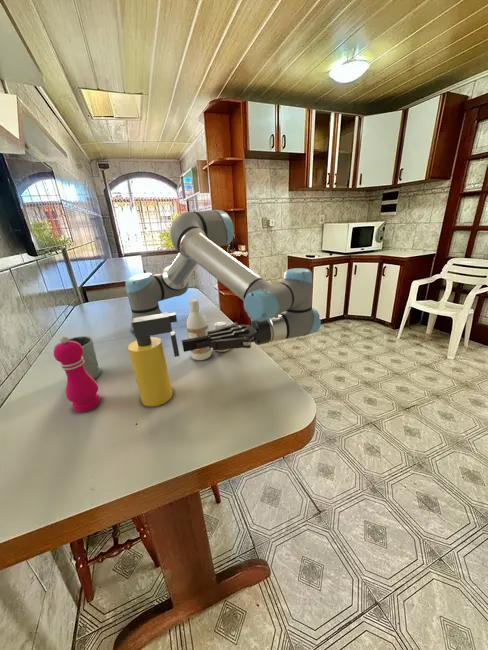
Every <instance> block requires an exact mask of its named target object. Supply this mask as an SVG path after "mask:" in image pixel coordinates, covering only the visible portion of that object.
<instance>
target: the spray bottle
mask: <svg viewBox="0 0 488 650" xmlns="http://www.w3.org/2000/svg"><path fill="white" fill-rule="evenodd" d="M131 320H132V319H131ZM177 322H178V318H177V314H176V312H171V313H169V312H168V311H167V312H162V313H161V314H155V315H148V316H142V317H136V318H133V320H132V326H133V330H134V332H133V333H134V334H133V335H134V337H135V339H136V340H134V341H132V342H130V343H129V344H128V345H127V350H128V354H129V355H128V356H129V358H130V362H131V366H132V369H133V373H134V376H135V381H136V384H137V388H138V392H139V397H140V400H141V403H142V404H143V406H146V407H158V406H161V405H164V404H165V403H167V402H168V401H169V400H171V398H172V397H173V389H172V384H171V380H170V379H171V378H170V375H169V370H168V365H167V360H166V355H165V351H164V346H163V342H162V339H161V338H160V337H156V335H162V334H167V333H168V334H170V332H172V331H173V328H172V323H177Z"/></svg>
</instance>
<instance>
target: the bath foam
mask: <svg viewBox="0 0 488 650" xmlns="http://www.w3.org/2000/svg"><path fill="white" fill-rule="evenodd" d="M188 303H189V310H190V311H189V314H188V316H187V317H186V318H187V319H186V330H187V331H186V332H187V339H191V338H196V337H202V336H206V335H207V334H208V331H210V330H209V329H210V327H209V322H208V320H207V317H206V316H205V314H204V313H203V312H202V311H201V310H200V302H199V299H197V298H193V299H190V300H188ZM212 354H213V352H212V348H209V347H206V348H201V349H196V350H191V351H190V355H191V358H192V359H193V360H195V361H204V360H208V359H209V358H210V357H211V356H212Z"/></svg>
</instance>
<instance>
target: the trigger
mask: <svg viewBox="0 0 488 650" xmlns="http://www.w3.org/2000/svg"><path fill="white" fill-rule="evenodd" d="M169 334H170V339H171V340H170V341H171V345H172V351H173V356H174V357H175V358H176V357H180V351H179V346H178V341H177V335H176V331H175V330H172V332H169Z"/></svg>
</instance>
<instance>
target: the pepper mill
mask: <svg viewBox="0 0 488 650" xmlns="http://www.w3.org/2000/svg"><path fill="white" fill-rule="evenodd" d="M69 339H70V338H69V337H68V336H65V335H63V336H61V337H60V338H59V343H60V342H61V343H60V344H59V343H57V344H58V345H57V344H56V345H57V346H56V345H55V346H56V347H55V346H54V347H55V349H54V348H53V357H54V359H55V360H56V361H57V362H58V363H59V365H60V367H61V370H63V371H64V370H65V371H64V373H65V376H66V379H67V381H66V382H67V383H66V387H65V395H66V399H67V400H68V401H69V402H71V403H72V404H71V405H72V409H73V410H74V412H77V413H85V412H88V411H91V410H93V409H95V408H96V407H97V406H98V405H99V404H100V402H101V397H100V395H99V393H98V391H99V385H98V382H97V381H96V379H93V378H92V377H91V376H90V375H89V374H88V373H87V372H86V370H85V368H84V365H83V364H84V360H83V357H82V356H81V355H82V353H83V348H82V346H81V345H80V344H79V343H78V342H76V341H69ZM60 362H61V363H60Z"/></svg>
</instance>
